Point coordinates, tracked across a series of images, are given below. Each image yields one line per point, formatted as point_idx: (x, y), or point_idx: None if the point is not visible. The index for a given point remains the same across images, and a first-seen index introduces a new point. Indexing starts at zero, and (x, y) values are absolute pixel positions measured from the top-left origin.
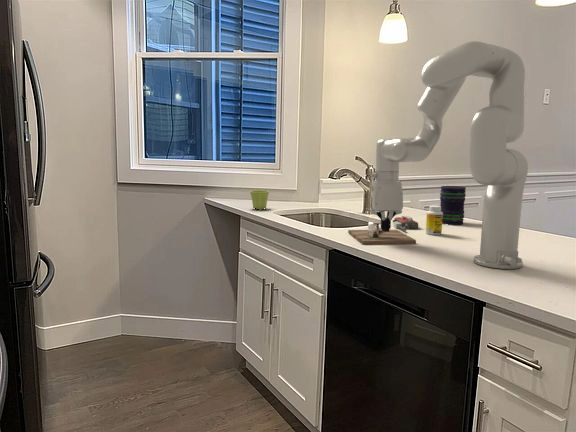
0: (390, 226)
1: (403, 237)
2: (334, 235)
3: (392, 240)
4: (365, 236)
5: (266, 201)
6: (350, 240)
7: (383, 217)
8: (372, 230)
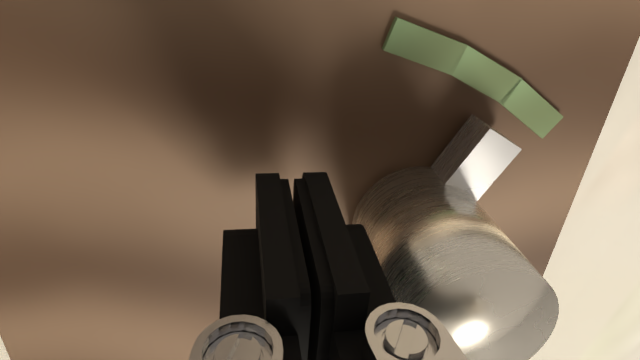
0: (224, 247)
1: (39, 141)
2: (602, 339)
3: None
4: (488, 206)
5: None
6: (607, 176)
7: (415, 358)
8: (479, 209)
